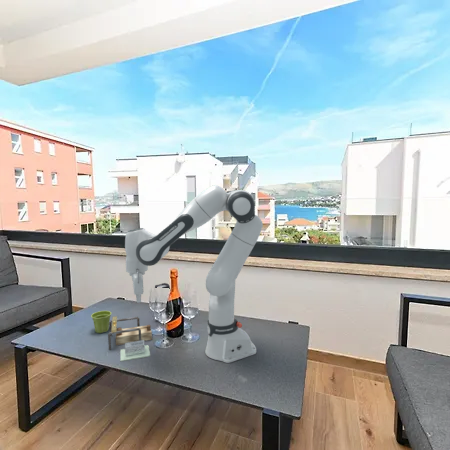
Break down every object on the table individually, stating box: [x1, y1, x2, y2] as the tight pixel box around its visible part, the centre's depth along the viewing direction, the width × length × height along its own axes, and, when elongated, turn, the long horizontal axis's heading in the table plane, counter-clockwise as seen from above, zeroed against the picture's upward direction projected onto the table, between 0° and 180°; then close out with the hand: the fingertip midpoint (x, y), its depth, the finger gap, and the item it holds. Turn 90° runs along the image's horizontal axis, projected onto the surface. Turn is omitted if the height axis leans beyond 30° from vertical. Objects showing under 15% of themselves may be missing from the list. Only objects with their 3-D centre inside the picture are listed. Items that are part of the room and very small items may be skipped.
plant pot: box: [90, 310, 112, 334], centre depth 147 cm, size 9×9×9 cm
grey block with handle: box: [124, 340, 146, 357], centre depth 126 cm, size 8×4×5 cm, turn 109°
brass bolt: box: [112, 315, 118, 333], centre depth 135 cm, size 2×15×2 cm, turn 19°
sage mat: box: [119, 344, 151, 362], centre depth 126 cm, size 12×9×1 cm
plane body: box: [107, 316, 153, 351], centre depth 138 cm, size 19×14×8 cm
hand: (138, 298), depth 124 cm, fingers open, 8 cm apart
